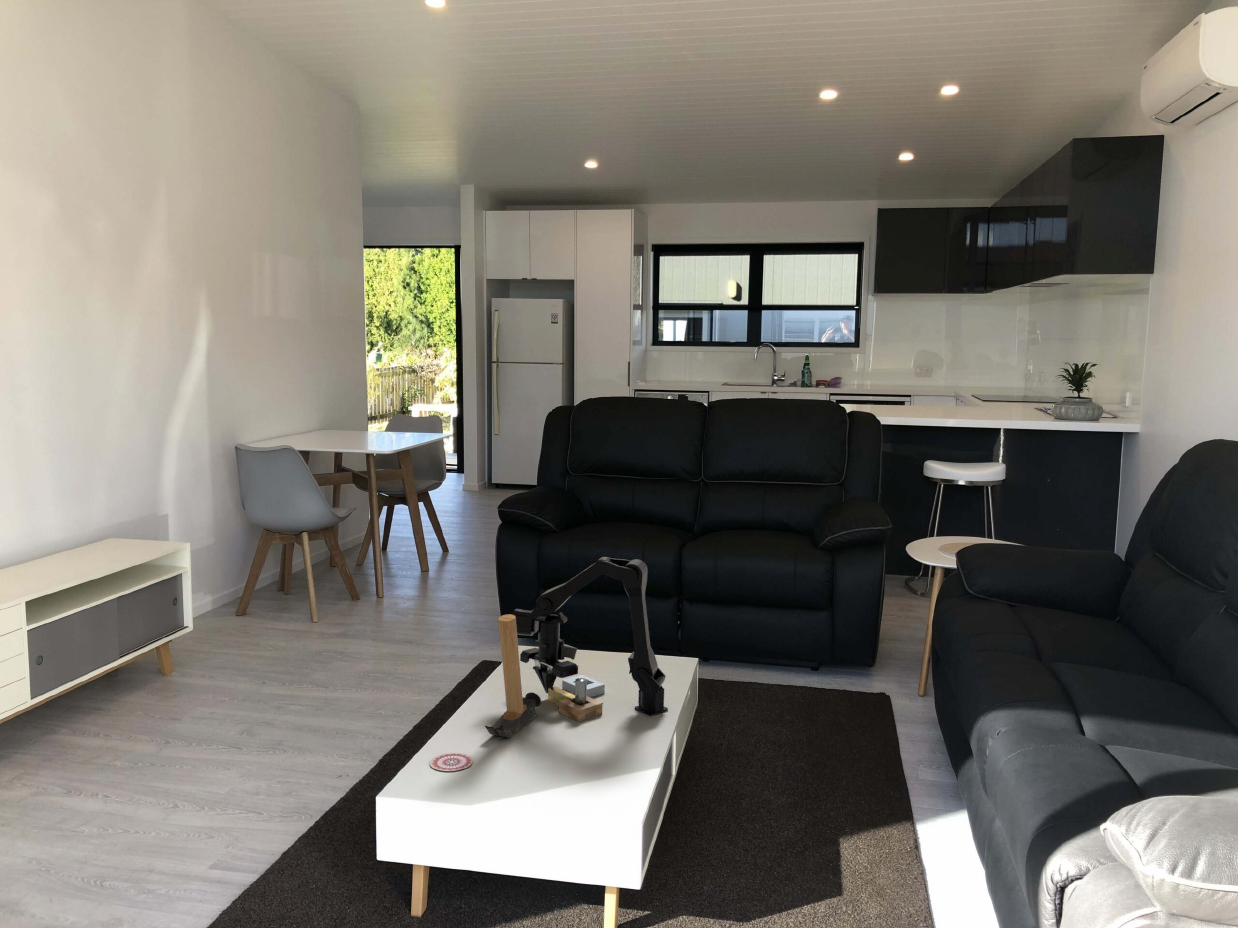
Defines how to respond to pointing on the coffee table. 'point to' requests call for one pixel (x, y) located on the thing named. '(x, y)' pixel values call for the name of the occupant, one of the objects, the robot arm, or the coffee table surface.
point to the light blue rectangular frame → (592, 686)
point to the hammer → (513, 685)
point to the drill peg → (581, 691)
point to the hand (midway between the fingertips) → (548, 692)
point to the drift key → (559, 695)
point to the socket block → (580, 709)
